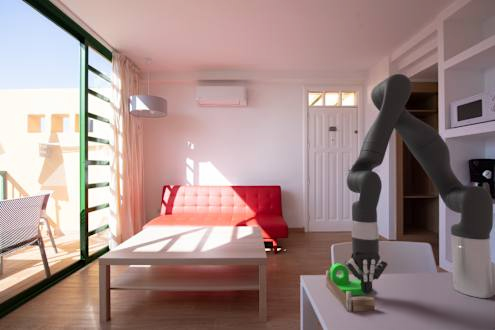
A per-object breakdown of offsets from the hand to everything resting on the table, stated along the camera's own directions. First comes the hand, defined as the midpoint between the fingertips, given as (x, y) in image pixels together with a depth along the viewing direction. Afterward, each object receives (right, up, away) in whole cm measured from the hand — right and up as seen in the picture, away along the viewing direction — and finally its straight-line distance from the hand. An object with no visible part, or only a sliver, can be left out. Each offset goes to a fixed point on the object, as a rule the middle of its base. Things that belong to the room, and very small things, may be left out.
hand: (366, 292), depth 77 cm
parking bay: (-6, -1, 0) cm, 6 cm away
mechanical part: (-3, -2, +4) cm, 5 cm away
